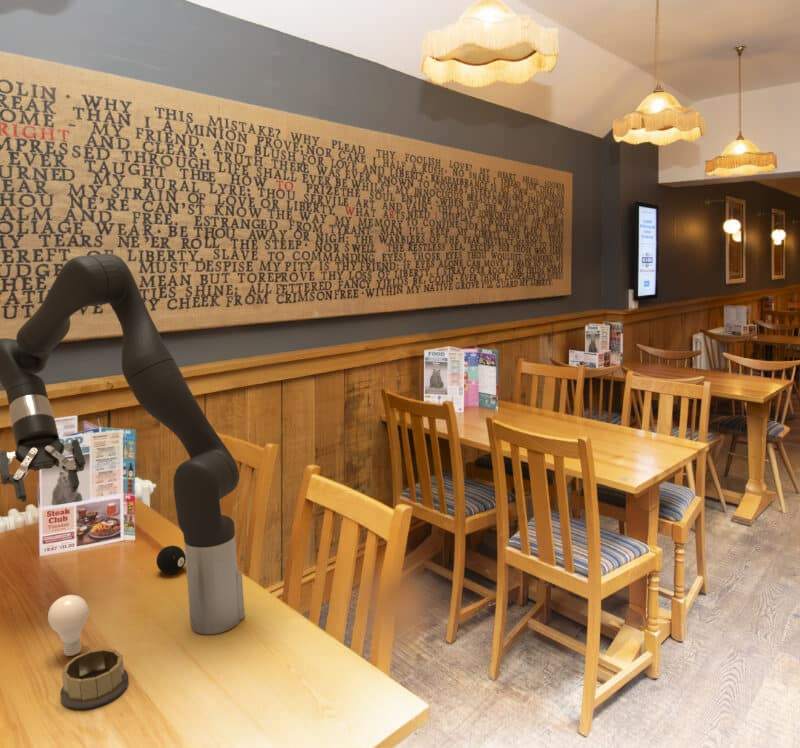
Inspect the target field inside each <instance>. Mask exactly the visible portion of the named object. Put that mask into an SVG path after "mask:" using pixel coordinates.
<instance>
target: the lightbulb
mask: <svg viewBox="0 0 800 748" xmlns="http://www.w3.org/2000/svg"><path fill="white" fill-rule="evenodd" d="M47 613H48V614H47V621H48V624H49V626H50V628H51V629H52V630H53V631H54V632H55V633H57V634H58V636H59V638H60V640H61V643H62V645H63V647H62V649H63V654H64V656H67V657H74V656H77V654H79V653H80V652H81V650H82V647H81V638H80V637H81V636H82V630H83V627H84V625H85V624H86V622H87V620H88V617H89V606H88V603H87V602H86V600H85V599H84V598H83V597H81V596H79V595H77V594H76V595H75V594H67V595H63V596H61V597H59V598H58V599H56V600H55V601H54V602H53V603H52V604H51V605H50V607H49V610H48V612H47Z"/></svg>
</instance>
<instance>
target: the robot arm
mask: <svg viewBox="0 0 800 748" xmlns="http://www.w3.org/2000/svg"><path fill="white" fill-rule="evenodd" d="M107 304H108V305H110V307H111V308H112V310H113V312H114V313H115V316H116V318H117V320H118V322H119V324H120V327H121V330H122V349H121V370H122V371H121V372H122V375H123V377H124V379H125V381H126V383H127V384H128V387H129V389H130V390H131V392H132V394H133V396H134V398H135V400H137V402H138V404H139V405H140V407H141V408H142V409H143V410H144V411H146V413H148V414H149V415H150V416H151V417H153V418H154V419H155V420H157V421H158V422H159V423H161V424H162V425H163V426H165V428H168V429H169V430H170V431H171V432H172V433H173V434H174V435H175V436H176V437H177V438H178V439H179V441H180V442H181V444H182V445H183V447H184V449H185V451H186V453H187V455H188V456H189V459H188V460H186V461H183V462H182V463H180V464H179V465H178V466H177V468H176V470H175V473H174V476H173V495H174V503H175V511H176V517H177V523H178V524H177V525H178V526H179V529H180V531H181V532H182V535H183V543H184V545H183V546H184V553H185V558H186V561H185V569H186V582H187V595H188V607H189V608H188V609H189V620H190V629H192V631H193V632H194V633H198V634H201V635H215V634H221V633H224V632H227V631H229V630H231V629H233V628H234V627H235V626H237V625H238V624H239V623H240V621H241V620H243V619H245V617H246V614H245V603H244V602H245V600H244V599H245V598H244V586H243V585H244V583H243V572H242V571H241V570H239V569H238V559H237V558H238V557H237V545H236V543H237V542H236V527H235V522H234V520H233V519H232V518H231V517H230V516H227V515H223V514H222V511H221V503H220V501H221V499H224V497H227V496H228V495H229V494H231V493H232V492H233V491H234V490H235V489H236V488H237V486H238V484H239V482H240V481H239V480H240V470H239V468H238V465H237V462H236V460H235V458H234V457H233V456H232V454H231V452H230V451H229V449H228V448H227V446H226V445H225V443H224V442H223V440H222V439H221V438H220V436H219V435H218V433H217V432H216V431H215V429H214V427H213V426H212V425H211V423H210V422H209V419H208V418H207V416H206V414H204V412H203V409H202V408H201V406H200V405H199V403H198V400H196V397H195V396H194V394H193V392H192V391H191V389H190V388H189V385H188V384H187V382H186V379H185V377H184V376H183V374H182V371H181V370H180V368H179V366H178V364H177V363H176V361H175V359H174V357H173V355H172V354H171V352H170V350H169V349H168V347H167V345H166V344H165V342H164V340H163V338H162V337H161V334H160V332H159V330H158V328H157V327H156V325H155V323H154V321H153V319H152V317H151V315H150V312H149V310H148V307H147V306H146V304H145V302H144V299H143V297H142V294H141V292H140V288H139V286H138V285H137V282H136V280H135V278H134V275H133V274H132V271H131V269H130V268H129V265H127V263H126V262H125V261H124V260H123V259H122V257H120V256H118V255H117V254H114V253H99V254H89V255H81V256H80V255H79V256H76V257H73V258H71V259H68V261H66V262H65V264H64V265H63V266H62V268H61V269H60V271H59V272H58V273H57V276H56V278H55V279H54V281H53V283H52V285H51V286H50V289H49V290H48V292H47V294H46V295H45V297H44V300H43V302H42V303H41V305H40V306H39V308H38V309H37V310H36V311H35V312H34V313H33V315H31V317H30V318H29V319H28V320H27V321H26V322H25V323H24V324H23V325H22V326H21V327H19V329H18V332H17V334H16V339H15V338H14V339H13V338H0V384H1V386H2V387H3V389H4V390H5V393H6V397H7V403H8V407H9V419H10V426H11V429H12V433H13V438H14V443H15V448H16V449H15V451H11V452H10V451H9V452H7V451H6V449H5V450H0V480H1V484H2V485H8V484H10V485H13V486H14V487H13V488H14V494H15V497H16V499H17V500H18V501H19V500H20V502H21V503H24V502H27V493H26V489H25V484H24V478H25V477H27V475H28V473H29V472H30V470H31V471H34V472H36V471H41V470H43V469H46V470H48V469H49V470H50V469H52V468H53V467H55V468H57V469H58V470H59V471H62V472H64V473H66V474H67V480H68V483H69V487H70V493H76V492H77V489H79V486H80V481H79V476H78V473H79V472H82V471H84V469H85V465H86V461H85V457H84V453H83V450H82V448H81V445H80V441H79V440H78V439H73V440H71V442H69V443H64V444H63V442H61V440H60V435H59V432H58V429H57V424H56V418H55V416H54V411H53V407H52V406H51V404H50V400H49V397H48V396H49V395H48V392H47V388H46V384H45V382H44V380H43V379H42V377H40V376H38V375H37V374H39V373H41V372H42V371H44V369H45V368H46V366H47V363H48V360H49V357H50V355H51V353H52V350H53V349H54V348H56V347H57V345H58V344H60V343H61V342H62V341H63V339H64V338H65V337H66V336H67V334H68V333H69V331H70V328H71V317H72V315H74V314H75V313H77V312H79V311H80V310H82V309H84V308H87V307H96V306H101V305H107ZM64 451H67V453H68V454H70V455H72V456H73V461H74V463H73V462H72V461H71V460H69V459H68V458H67V456H65V455H63V453H64ZM14 459H16V461H17V462H19V463H20V465H19V468H18V469H17V470H16V472H15V473H14V474H12V473H11V474H10V469H9V467H10V466H9V465H11V464H12V462H13V460H14Z"/></svg>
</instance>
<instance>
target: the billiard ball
mask: <svg viewBox="0 0 800 748" xmlns="http://www.w3.org/2000/svg"><path fill="white" fill-rule="evenodd" d="M156 565H157V568H158V570H159V571H161V573H164V574H166V575H173V574H176V573H178V572H180V571H181V570H182V569H183V568H184V566H185V565H186V558H185V550H184V549H182V548H181V547H180V546H177V545H168V546H165V547H163V548H162V549H160V551H159V552H158V553H157V556H156Z"/></svg>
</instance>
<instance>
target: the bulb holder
mask: <svg viewBox="0 0 800 748" xmlns="http://www.w3.org/2000/svg"><path fill="white" fill-rule="evenodd" d="M123 658H124V657H123V655H122V654H121V653H120V652H119V651H118V650H117V649H113V648H112V649H110V648H99V649H93V650H88V651H86V652H84V653H82V654H79V655H75V657H73V658H72V659H71V660H70V661H68V662H67V663H66V664H65V665H64V668H63V670H62V673H61V678H62V684H63V686H62V688H61V689H60V694H59V695H60V700H61V701H60V702H61V704H62V705H63V707H64V708H67V709H68V710H71V711H89V710H95V709H98V708H101V707H103V706H105V705H108V704H110V703H112V702H114V701H115V700H117V699H119V698H120V696H122V695H123V694H124V693H125V691H127V688H128V686H129V682H130V681H129V680H130V679H129V673H128V671H127V670H126V669H125V668H124V659H123Z"/></svg>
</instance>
